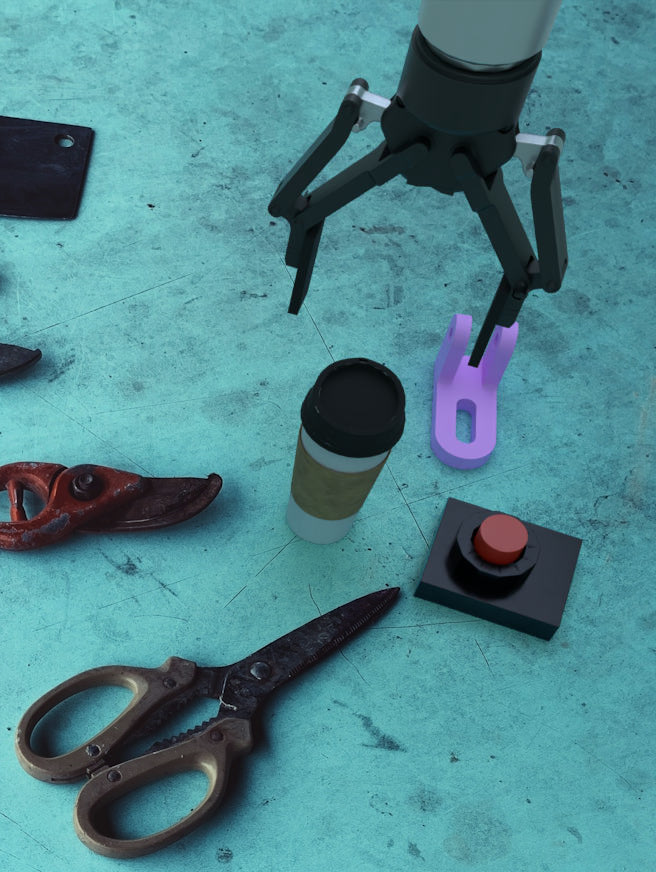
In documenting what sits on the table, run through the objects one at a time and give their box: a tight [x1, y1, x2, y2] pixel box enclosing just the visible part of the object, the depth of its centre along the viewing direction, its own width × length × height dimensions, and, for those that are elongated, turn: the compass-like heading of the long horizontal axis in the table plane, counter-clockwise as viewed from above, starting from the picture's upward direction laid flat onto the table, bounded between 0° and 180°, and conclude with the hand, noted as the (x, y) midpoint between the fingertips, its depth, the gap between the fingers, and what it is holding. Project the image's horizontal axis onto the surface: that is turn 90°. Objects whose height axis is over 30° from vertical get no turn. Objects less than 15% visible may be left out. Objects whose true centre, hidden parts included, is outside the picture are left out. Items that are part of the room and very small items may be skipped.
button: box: [474, 514, 528, 565], centre depth 101 cm, size 4×4×2 cm
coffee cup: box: [285, 356, 407, 545], centre depth 100 cm, size 8×8×15 cm
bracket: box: [430, 313, 519, 471], centre depth 110 cm, size 13×6×7 cm, turn 170°
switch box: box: [412, 496, 584, 642], centre depth 103 cm, size 12×10×4 cm
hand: (386, 328), depth 88 cm, fingers open, 13 cm apart
